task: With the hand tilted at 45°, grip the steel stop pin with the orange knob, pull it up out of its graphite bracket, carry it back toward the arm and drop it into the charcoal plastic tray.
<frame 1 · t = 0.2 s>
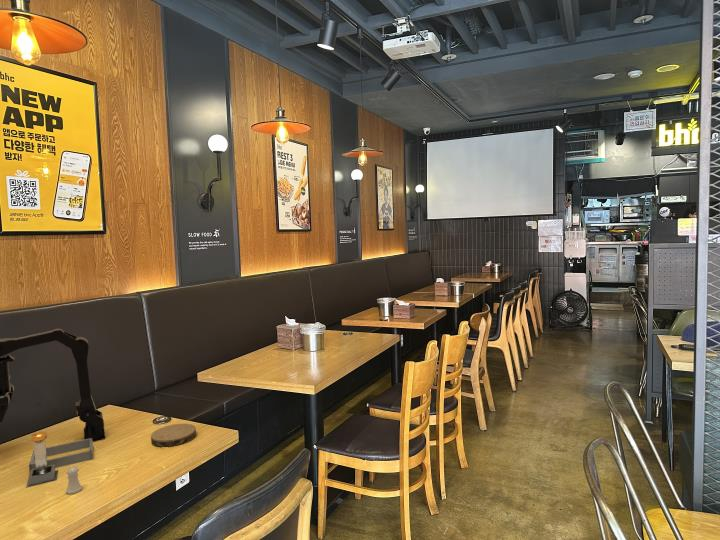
hand: (2, 418, 169), 15 cm above the table, tool pointing down, fingers open, 9 cm apart
pin tray: (63, 461, 165), on the table
wooden coaster disc: (174, 439, 181), on the table
stop pin: (42, 478, 151), point 1 cm above the table, touching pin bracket
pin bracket: (43, 481, 151), on the table
rook chess piece: (74, 494, 143), on the table
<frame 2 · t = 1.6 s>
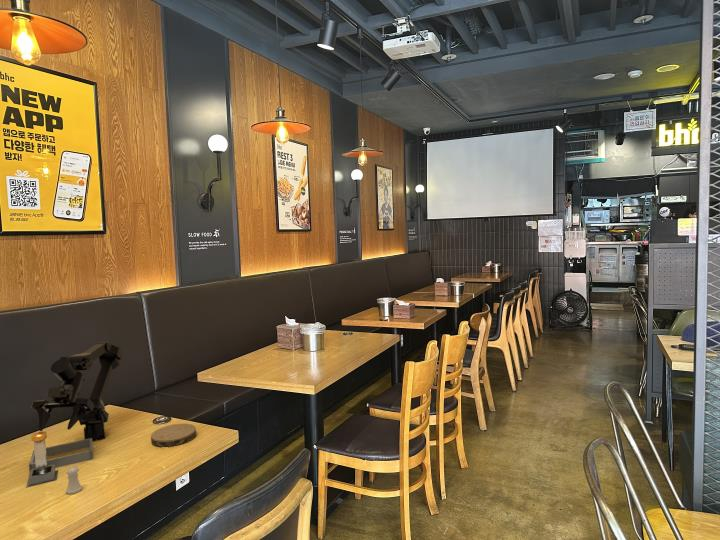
hand: (54, 429, 159), 13 cm above the table, tool tilted 45°, fingers open, 9 cm apart
nothing on the table moved.
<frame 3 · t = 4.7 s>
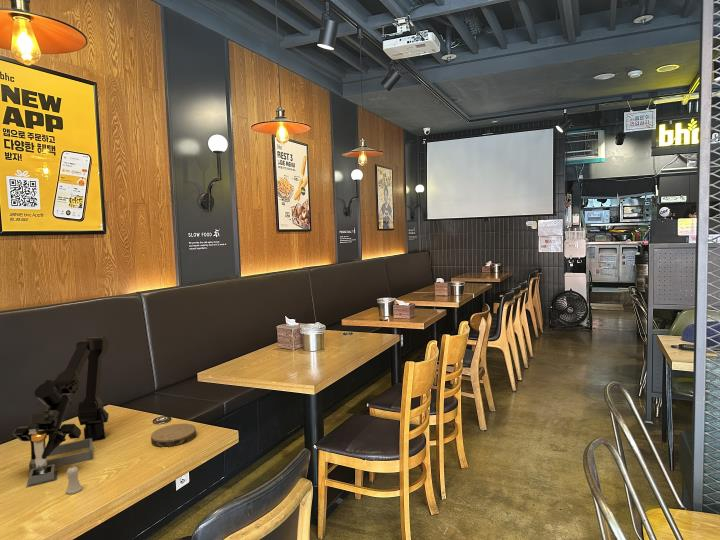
hand: (38, 459, 150), 8 cm above the table, tool tilted 45°, fingers closed on stop pin, 3 cm apart
stop pin: (42, 478, 151), point 1 cm above the table, touching gripper, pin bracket
everything else where it was.
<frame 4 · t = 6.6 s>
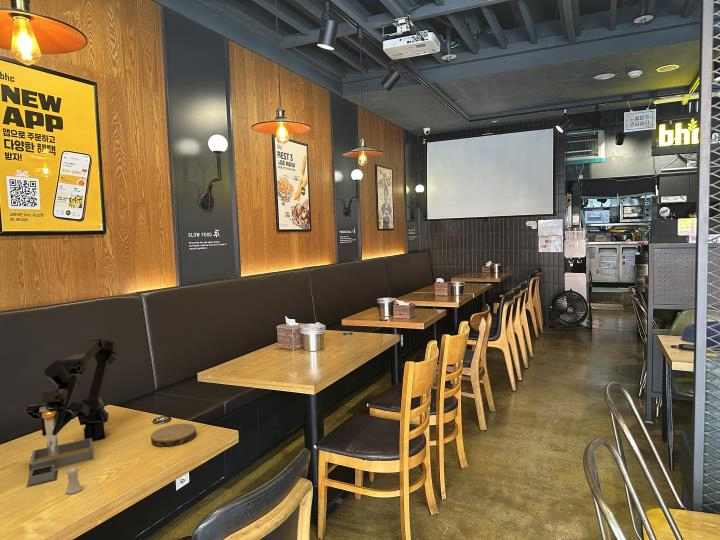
hand: (48, 435, 156), 13 cm above the table, tool tilted 45°, fingers closed on stop pin, 3 cm apart
stop pin: (53, 454, 157), point 6 cm above the table, touching gripper
everything else where it was.
when the fingers open (9 cm above the table, at t = 8.7 s): stop pin drops 1 cm, resting on pin tray.
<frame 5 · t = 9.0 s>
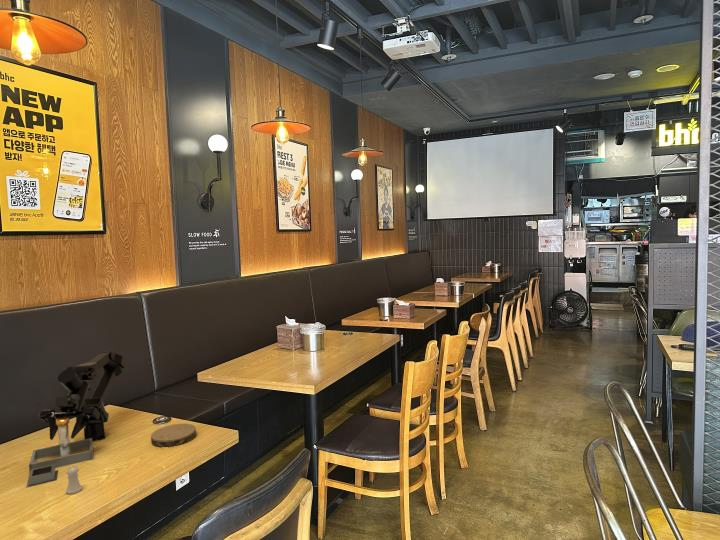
hand: (61, 438, 162), 9 cm above the table, tool tilted 45°, fingers open, 7 cm apart
stop pin: (65, 460, 164), point 1 cm above the table, touching pin tray
everything else where it was.
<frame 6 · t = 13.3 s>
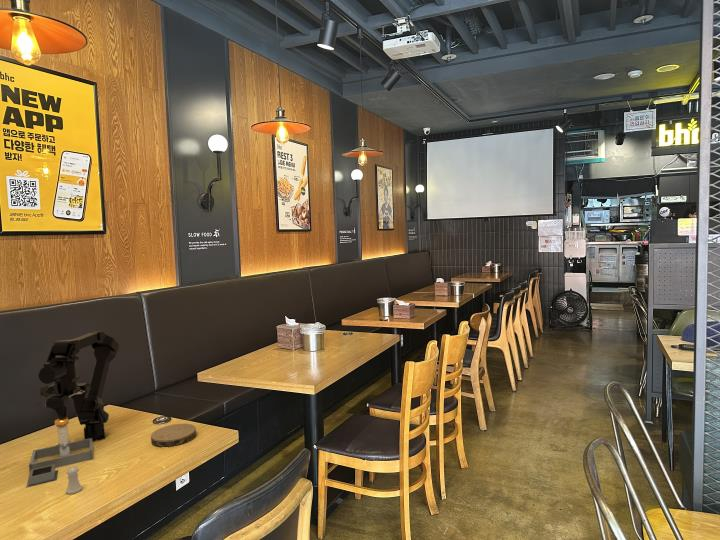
hand: (70, 418, 171), 13 cm above the table, tool pointing down, fingers open, 9 cm apart
stop pin: (65, 460, 164), point 1 cm above the table, touching gripper, pin tray
everything else where it was.
at the end: stop pin inside the target area on the pin tray (1.5 cm from its centre), point 0.8 cm above the pin tray's base; the gripper is holding nothing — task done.
